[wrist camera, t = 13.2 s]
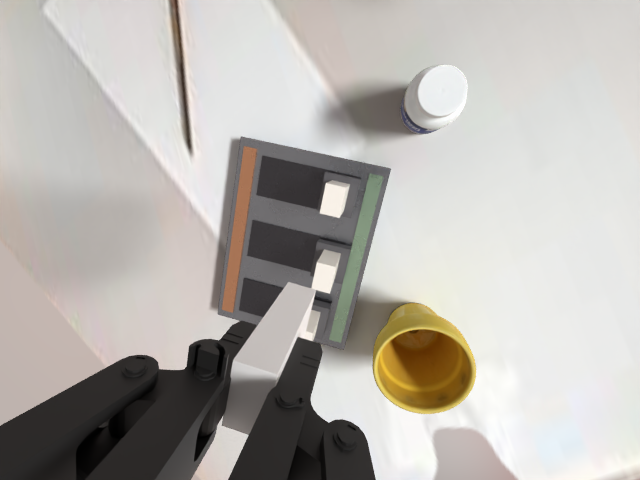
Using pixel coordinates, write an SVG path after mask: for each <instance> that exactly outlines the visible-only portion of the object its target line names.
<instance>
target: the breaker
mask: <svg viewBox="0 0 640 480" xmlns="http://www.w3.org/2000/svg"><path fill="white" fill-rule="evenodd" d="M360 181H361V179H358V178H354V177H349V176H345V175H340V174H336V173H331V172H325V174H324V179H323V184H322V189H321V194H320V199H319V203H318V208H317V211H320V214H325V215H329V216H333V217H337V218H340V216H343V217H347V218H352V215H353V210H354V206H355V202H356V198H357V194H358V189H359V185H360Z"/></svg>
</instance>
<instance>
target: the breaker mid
mask: <svg viewBox="0 0 640 480" xmlns="http://www.w3.org/2000/svg"><path fill="white" fill-rule="evenodd" d="M350 251H351V246H348V245H344V244H340V243H336V242H331V241H327V240H323V239H319V240H318V241H317V245H316V250H315V255H314V259H313V264H312V269H311V273H310V276H312V277H314V278H313V283H312V288H311V289H315V290H318V291H322V292H325V293H329V294H330V291H331V288H332V285H333V282H335V283H339V284H342V283H343V279H344V275H345V271H346V267H347V263H348V259H349V255H350Z"/></svg>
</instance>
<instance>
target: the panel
mask: <svg viewBox="0 0 640 480" xmlns="http://www.w3.org/2000/svg"><path fill="white" fill-rule="evenodd" d="M390 170H391V169H390V168H386V167H381V166H376V165H372V164H367V163H362V162H358V161H353V160H348V159H344V158H339V157H334V156H330V155H325V154H320V153H316V152H311V151H306V150H302V149H297V148H293V147H288V146H283V145H279V144H274V143H269V142H265V141H260V140H255V139H251V138H246V137H241V140H240V148H239V155H238V163H237V171H236V178H235V186H234V193H233V201H232V209H231V216H230V224H229V232H228V239H227V247H226V254H225V262H224V270H223V277H222V285H221V292H220V300H219V308H218V315H222V316H225V317H229V318H232V319H236V320H240V321H245V322H249V323H252V324H255V325H258V324H259V323H260V321H261V320H262V319H263V317H264V316H265V314H266V313H267V311H268V310H269V309H270V307H271V306H272V304H273V303H274V302H275V300H276V299H277V297H278V296H279V294H280V293H281V292H282V290H283V289H284V287H285V286H286V285H287V283H288V282H291V283H294V284H298V285H301V286H304V287H308V288H312V283H313V278H314V277H312V276H310V273H311V269H312V264H313V259H314V255H315V250H316V245H317V241H318V240H319V239H323V240H327V241H331V242H336V243H340V244H344V245H348V246H351V251H350V255H349V259H348V263H347V267H346V271H345V275H344V279H343V283H342V284H339V283H335V282H333V285H332V288H331V291H330V294H329V293H325V292H322V291H318V290H316V292H315V297H314V299H315V300H319V301H323V302H327V303H330V304H331V307H330V311H329V316H328V320H327V324H326V328H325V332H324V336H323V340H320V339H317V338H314V340H313V341H314V342H318V343H322V344H325V345H329V346H332V347H336V348H339V349H343V350H344V347H345V343H346V339H347V335H348V331H349V328H350V324H351V320H352V316H353V312H354V308H355V305H356V301H357V297H358V293H359V289H360V285H361V282H362V278H363V274H364V270H365V266H366V262H367V259H368V255H369V251H370V247H371V243H372V239H373V236H374V232H375V228H376V224H377V220H378V216H379V213H380V209H381V205H382V201H383V197H384V193H385V190H386V186H387V182H388V178H389V174H390ZM325 172H331V173H336V174H340V175H345V176H349V177H354V178H358V179H361V181H360V185H359V189H358V194H357V198H356V202H355V206H354V210H353V215H352V218H347V217H343V216H340V218H337V217H333V216H329V215H325V214H320V211H317V208H318V203H319V199H320V194H321V189H322V184H323V179H324V174H325Z"/></svg>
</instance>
